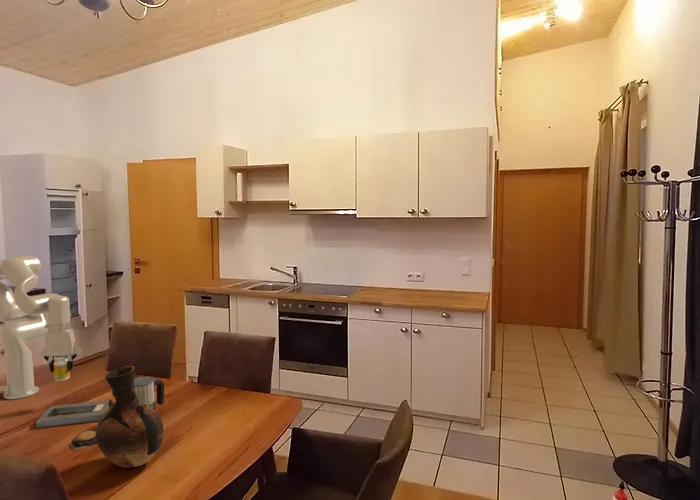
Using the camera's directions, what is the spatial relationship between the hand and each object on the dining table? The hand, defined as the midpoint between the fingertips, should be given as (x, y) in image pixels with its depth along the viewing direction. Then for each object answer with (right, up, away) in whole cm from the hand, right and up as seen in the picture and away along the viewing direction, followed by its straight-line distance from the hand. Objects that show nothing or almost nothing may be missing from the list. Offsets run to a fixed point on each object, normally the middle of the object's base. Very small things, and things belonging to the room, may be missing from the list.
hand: (61, 370), depth 186 cm
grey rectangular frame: (+12, -15, -10) cm, 22 cm away
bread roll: (+28, -17, -29) cm, 44 cm away
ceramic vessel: (+49, -18, -43) cm, 68 cm away
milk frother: (+36, -15, -10) cm, 40 cm away
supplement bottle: (0, -4, 0) cm, 4 cm away
